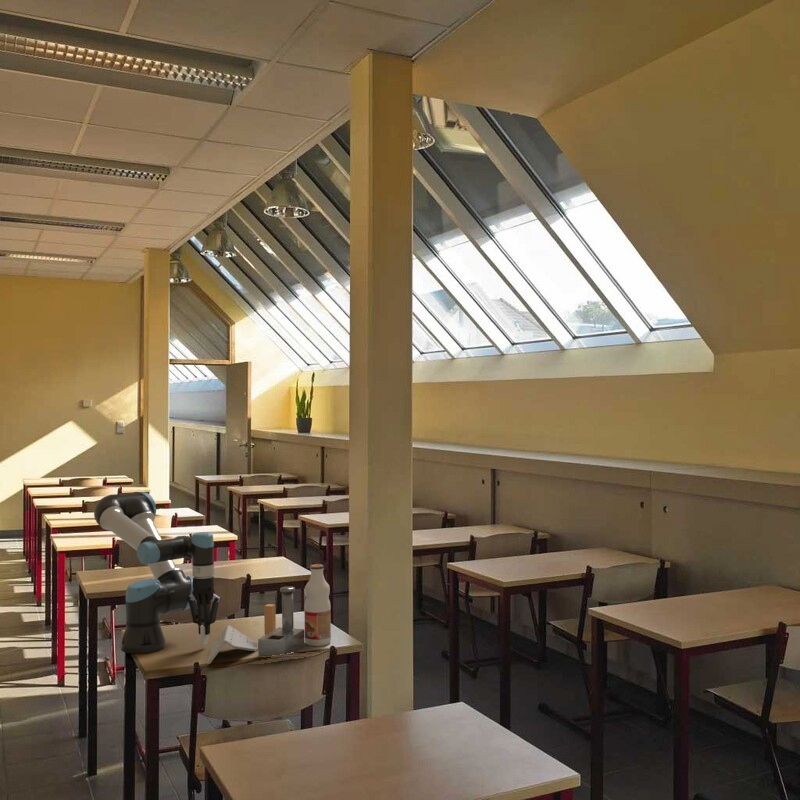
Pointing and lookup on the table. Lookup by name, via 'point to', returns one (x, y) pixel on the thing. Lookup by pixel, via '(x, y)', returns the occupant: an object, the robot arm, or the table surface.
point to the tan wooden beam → (269, 618)
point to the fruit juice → (317, 608)
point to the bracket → (231, 642)
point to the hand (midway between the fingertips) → (204, 643)
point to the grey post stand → (283, 631)
